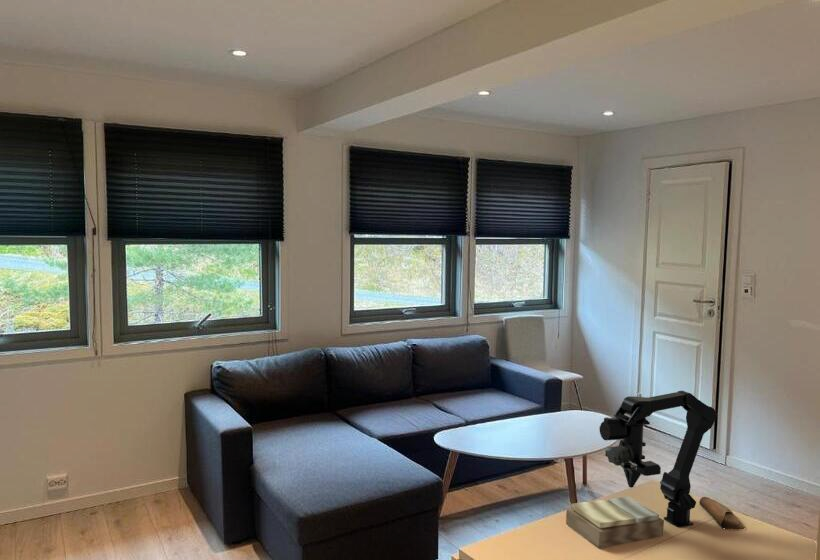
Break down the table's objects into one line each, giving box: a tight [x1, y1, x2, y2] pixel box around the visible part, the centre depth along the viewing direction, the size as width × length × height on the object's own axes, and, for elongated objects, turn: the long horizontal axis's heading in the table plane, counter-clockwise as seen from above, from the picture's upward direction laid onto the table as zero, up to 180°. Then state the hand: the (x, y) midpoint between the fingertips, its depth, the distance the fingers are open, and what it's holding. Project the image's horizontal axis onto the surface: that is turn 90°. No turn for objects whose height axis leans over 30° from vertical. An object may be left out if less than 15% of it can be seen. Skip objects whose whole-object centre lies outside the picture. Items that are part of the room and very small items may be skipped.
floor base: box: [565, 496, 665, 550], centre depth 185 cm, size 24×16×6 cm, turn 111°
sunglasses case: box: [699, 496, 746, 530], centre depth 196 cm, size 18×7×7 cm, turn 175°
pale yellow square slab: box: [570, 499, 636, 528], centre depth 183 cm, size 13×14×2 cm
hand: (630, 487), depth 186 cm, fingers closed
